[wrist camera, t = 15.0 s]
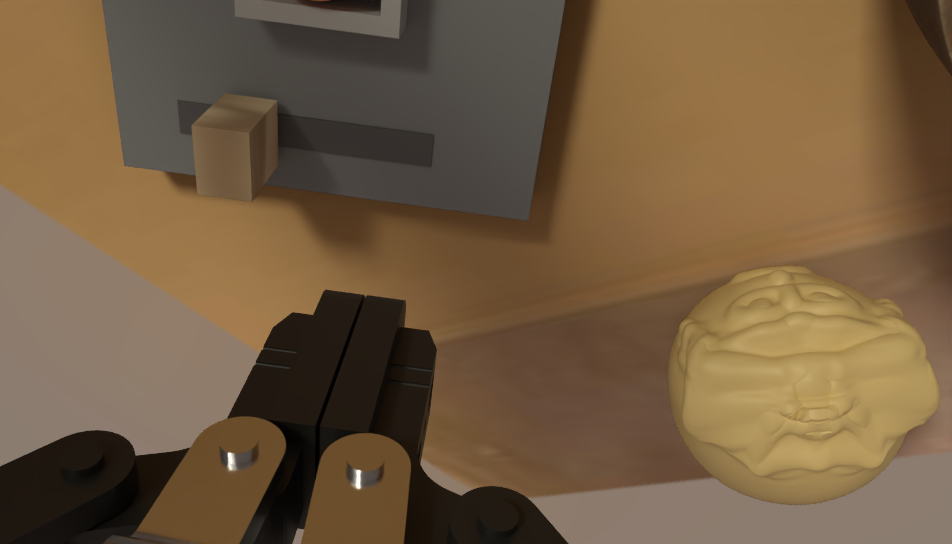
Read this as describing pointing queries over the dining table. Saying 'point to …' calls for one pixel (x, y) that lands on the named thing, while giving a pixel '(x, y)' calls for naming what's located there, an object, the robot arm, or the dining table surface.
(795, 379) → the sculpture
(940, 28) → the plant pot
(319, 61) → the control panel
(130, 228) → the dining table surface
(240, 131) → the slide paddle
